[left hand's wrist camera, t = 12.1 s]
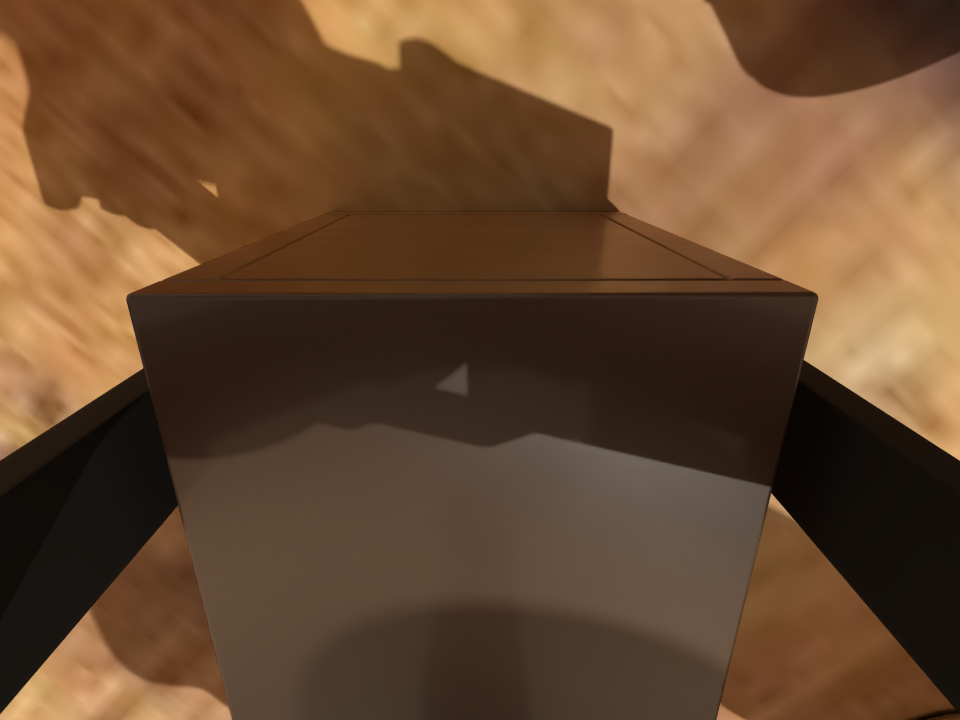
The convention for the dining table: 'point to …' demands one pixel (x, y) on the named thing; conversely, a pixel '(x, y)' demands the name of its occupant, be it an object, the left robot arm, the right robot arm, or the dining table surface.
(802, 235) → the dining table surface
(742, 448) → the cabinet
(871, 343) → the dining table surface
